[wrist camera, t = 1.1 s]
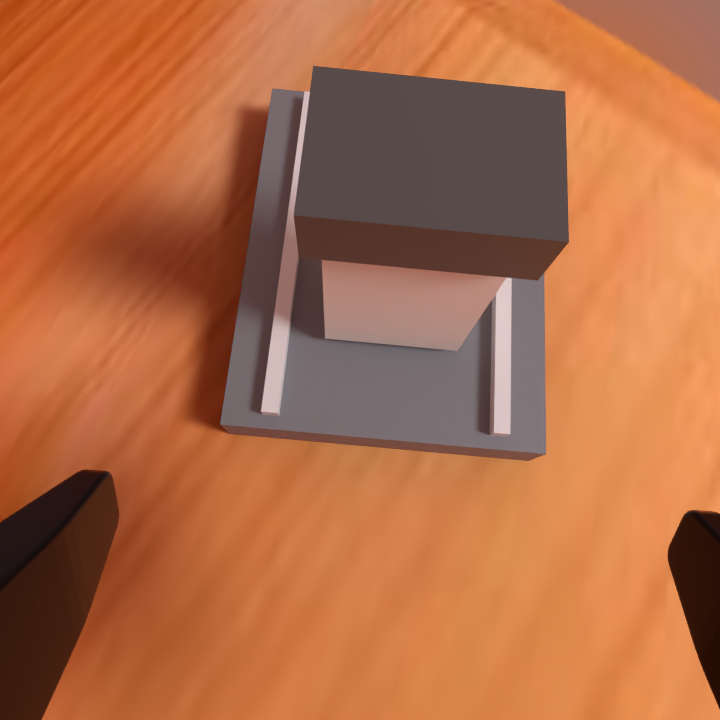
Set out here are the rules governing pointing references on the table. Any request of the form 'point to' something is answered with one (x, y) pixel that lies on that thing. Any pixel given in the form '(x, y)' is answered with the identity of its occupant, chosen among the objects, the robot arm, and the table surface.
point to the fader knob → (426, 200)
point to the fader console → (370, 347)
